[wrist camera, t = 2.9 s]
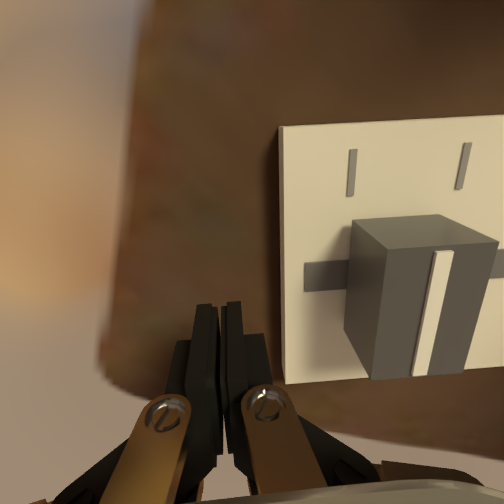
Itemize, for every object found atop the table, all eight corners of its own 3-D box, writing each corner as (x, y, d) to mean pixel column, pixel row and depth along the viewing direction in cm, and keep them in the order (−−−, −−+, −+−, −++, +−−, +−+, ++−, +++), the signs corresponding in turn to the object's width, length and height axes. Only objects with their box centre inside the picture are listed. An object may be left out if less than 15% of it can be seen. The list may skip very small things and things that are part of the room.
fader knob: (439, 213, 14) (503, 243, 11) (418, 323, 17) (465, 375, 13) (352, 219, 14) (389, 250, 11) (343, 329, 16) (372, 383, 13)
